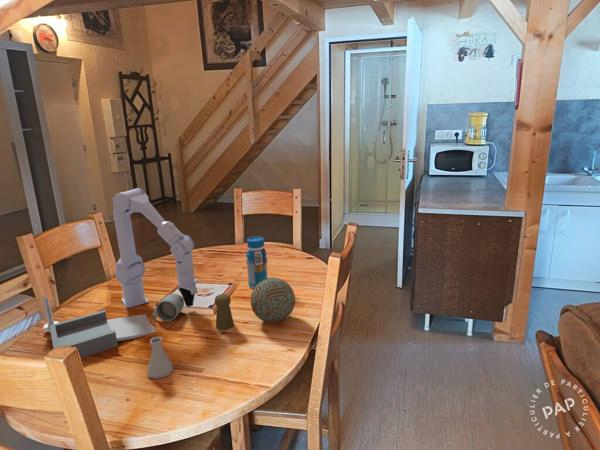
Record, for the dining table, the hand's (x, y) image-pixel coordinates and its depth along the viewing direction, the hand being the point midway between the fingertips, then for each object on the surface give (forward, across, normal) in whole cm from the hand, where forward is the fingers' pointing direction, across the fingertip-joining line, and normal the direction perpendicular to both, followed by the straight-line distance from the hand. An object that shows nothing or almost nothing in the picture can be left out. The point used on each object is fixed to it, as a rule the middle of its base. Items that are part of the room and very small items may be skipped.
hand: (189, 305), depth 147 cm
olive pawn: (+2, -18, -6) cm, 19 cm away
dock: (+3, 0, +29) cm, 29 cm away
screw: (+2, +15, +42) cm, 45 cm away
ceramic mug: (+2, +1, +8) cm, 8 cm away
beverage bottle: (+2, +4, -31) cm, 31 cm away
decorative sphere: (+2, -25, -20) cm, 32 cm away
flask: (+2, -30, +20) cm, 36 cm away
